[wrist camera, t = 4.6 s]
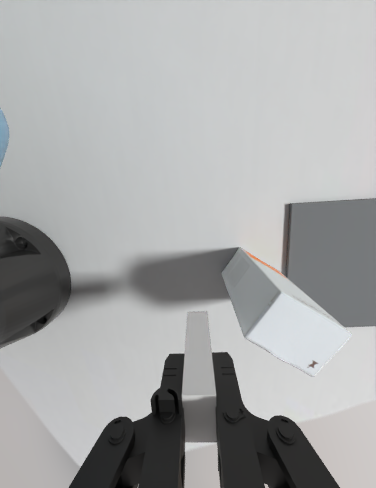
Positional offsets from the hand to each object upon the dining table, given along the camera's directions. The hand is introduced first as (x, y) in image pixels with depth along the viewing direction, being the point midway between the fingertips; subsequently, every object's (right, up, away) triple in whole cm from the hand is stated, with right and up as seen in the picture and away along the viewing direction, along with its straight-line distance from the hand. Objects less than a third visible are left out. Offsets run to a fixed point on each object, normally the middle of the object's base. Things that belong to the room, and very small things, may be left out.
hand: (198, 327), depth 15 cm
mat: (+19, +4, +9) cm, 21 cm away
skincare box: (+7, +3, +10) cm, 12 cm away
